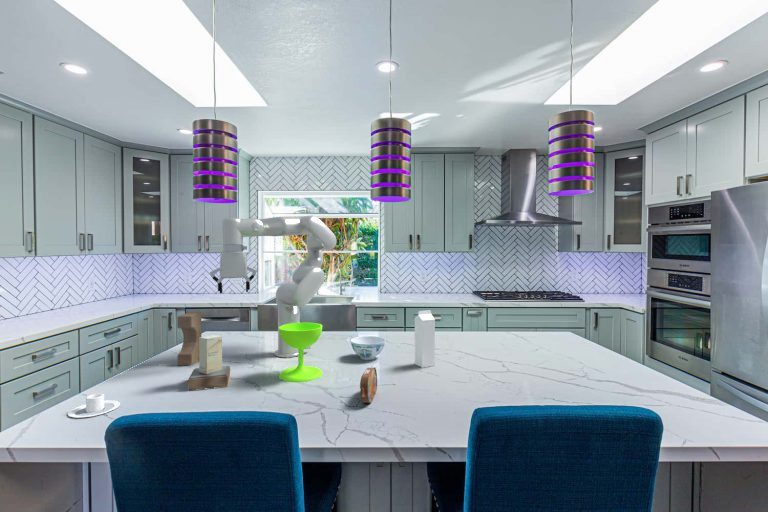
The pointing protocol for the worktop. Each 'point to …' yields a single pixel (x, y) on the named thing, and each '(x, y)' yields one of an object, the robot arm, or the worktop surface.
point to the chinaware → (368, 346)
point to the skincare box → (210, 354)
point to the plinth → (209, 379)
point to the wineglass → (300, 349)
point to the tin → (368, 385)
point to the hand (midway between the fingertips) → (234, 292)
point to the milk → (424, 339)
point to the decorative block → (189, 337)
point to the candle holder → (94, 405)
